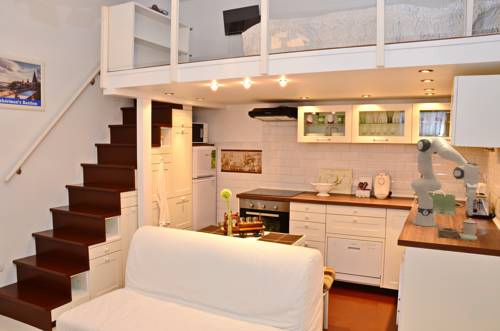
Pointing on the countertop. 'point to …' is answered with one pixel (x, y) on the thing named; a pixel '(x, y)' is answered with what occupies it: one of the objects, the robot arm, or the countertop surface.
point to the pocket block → (447, 233)
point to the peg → (469, 208)
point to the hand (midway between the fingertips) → (469, 204)
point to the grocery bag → (443, 203)
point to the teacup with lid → (469, 226)
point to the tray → (467, 237)
